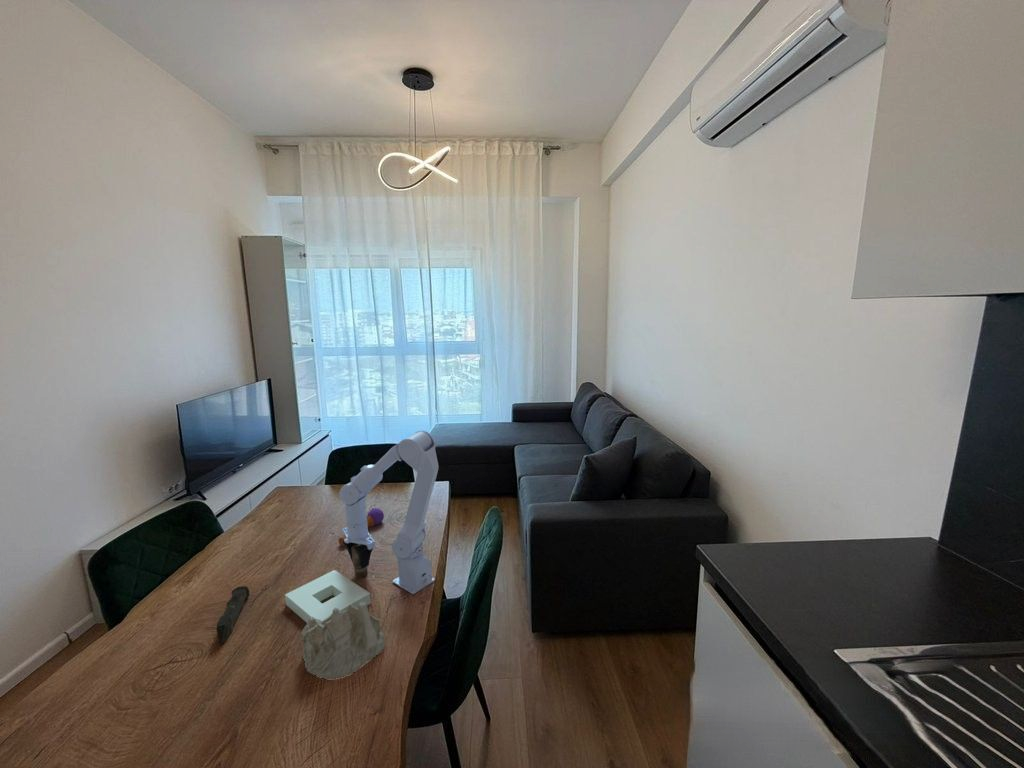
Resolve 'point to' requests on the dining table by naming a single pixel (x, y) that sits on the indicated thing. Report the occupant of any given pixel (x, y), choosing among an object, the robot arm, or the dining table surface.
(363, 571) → the walnut peg
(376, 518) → the kendama
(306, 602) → the sage board
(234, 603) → the hand tool
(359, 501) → the robot arm
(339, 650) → the pale grey lumpy mound
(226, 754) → the dining table surface
